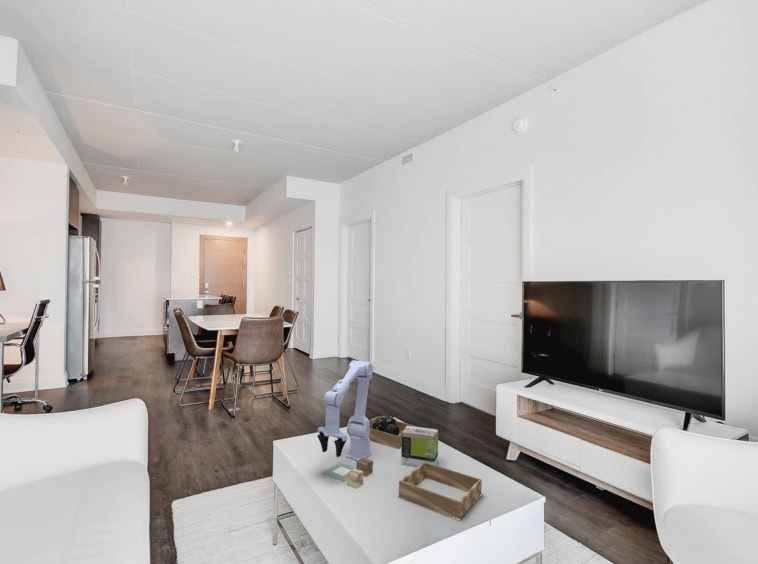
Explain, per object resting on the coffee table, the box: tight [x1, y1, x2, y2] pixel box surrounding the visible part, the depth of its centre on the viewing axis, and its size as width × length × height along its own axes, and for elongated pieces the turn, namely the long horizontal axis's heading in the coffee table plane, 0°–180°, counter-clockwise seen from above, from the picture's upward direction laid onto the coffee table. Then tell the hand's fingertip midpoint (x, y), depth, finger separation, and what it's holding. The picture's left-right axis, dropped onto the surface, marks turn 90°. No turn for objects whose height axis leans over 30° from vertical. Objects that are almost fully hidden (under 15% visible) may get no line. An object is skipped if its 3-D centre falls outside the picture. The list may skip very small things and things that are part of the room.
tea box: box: [400, 425, 439, 468], centre depth 178 cm, size 15×10×15 cm
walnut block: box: [355, 457, 374, 477], centre depth 167 cm, size 5×5×5 cm
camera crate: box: [368, 416, 418, 450], centre depth 207 cm, size 19×25×6 cm
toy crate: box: [398, 462, 483, 519], centre depth 150 cm, size 21×25×6 cm
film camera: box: [372, 415, 400, 436], centre depth 207 cm, size 18×12×10 cm
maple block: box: [346, 469, 364, 489], centre depth 157 cm, size 4×4×5 cm
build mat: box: [321, 461, 356, 482], centre depth 167 cm, size 12×12×1 cm
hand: (331, 453), depth 162 cm, fingers open, 7 cm apart
